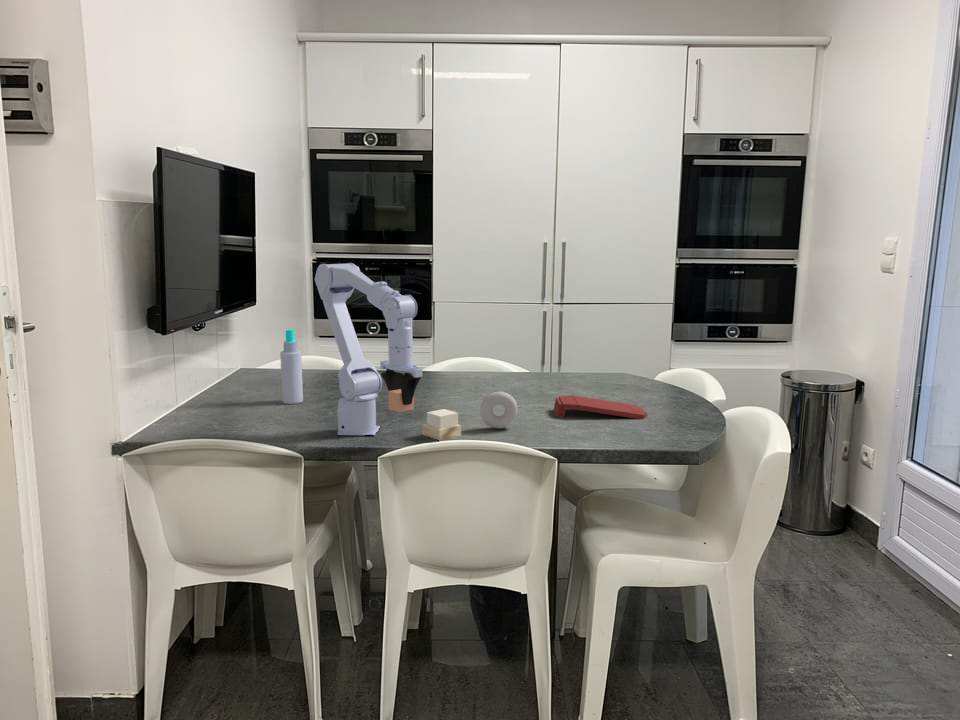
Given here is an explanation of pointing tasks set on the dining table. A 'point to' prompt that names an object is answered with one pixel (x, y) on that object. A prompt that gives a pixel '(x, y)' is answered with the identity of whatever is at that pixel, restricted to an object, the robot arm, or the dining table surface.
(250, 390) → the dining table surface
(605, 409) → the red elongated bent piece
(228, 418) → the dining table surface
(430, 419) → the cream top block
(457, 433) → the birch base block
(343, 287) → the robot arm
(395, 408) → the terracotta cube
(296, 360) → the spray bottle
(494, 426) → the donut
